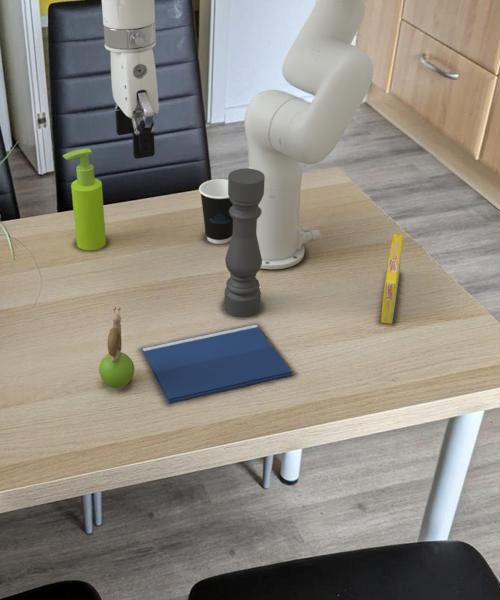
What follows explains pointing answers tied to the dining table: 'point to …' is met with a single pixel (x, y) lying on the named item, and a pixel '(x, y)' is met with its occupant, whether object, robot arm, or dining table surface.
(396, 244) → the candy box
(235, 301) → the candle holder
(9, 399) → the dining table surface
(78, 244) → the soap dispenser
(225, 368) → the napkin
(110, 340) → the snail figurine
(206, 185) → the dixie cup
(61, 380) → the dining table surface
